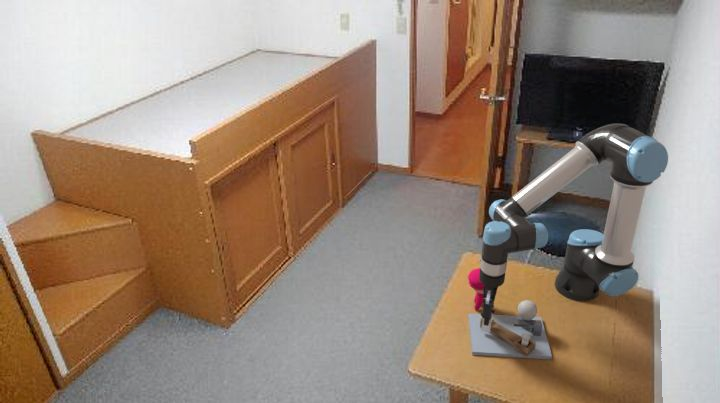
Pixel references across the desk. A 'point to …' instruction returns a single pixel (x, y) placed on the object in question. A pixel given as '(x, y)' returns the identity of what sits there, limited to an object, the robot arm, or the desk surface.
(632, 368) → the desk surface
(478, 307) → the toy
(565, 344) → the desk surface
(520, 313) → the lightbulb
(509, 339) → the link
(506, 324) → the board
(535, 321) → the keeper
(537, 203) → the robot arm
